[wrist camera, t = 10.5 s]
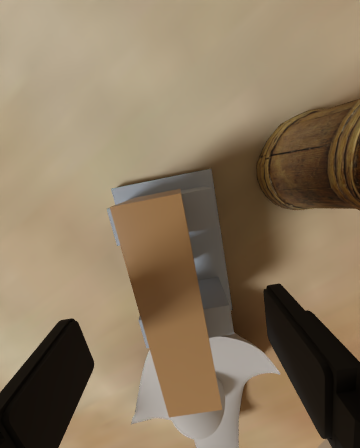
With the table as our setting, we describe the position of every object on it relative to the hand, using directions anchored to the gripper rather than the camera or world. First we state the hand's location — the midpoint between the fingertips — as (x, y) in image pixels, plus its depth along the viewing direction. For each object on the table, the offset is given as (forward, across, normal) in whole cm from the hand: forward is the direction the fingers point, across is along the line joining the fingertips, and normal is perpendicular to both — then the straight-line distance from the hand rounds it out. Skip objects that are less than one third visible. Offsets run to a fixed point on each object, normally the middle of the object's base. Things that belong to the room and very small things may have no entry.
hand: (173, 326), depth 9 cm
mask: (+12, +1, +18) cm, 21 cm away
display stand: (+12, 0, +1) cm, 12 cm away
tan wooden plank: (+6, 0, +1) cm, 6 cm away
